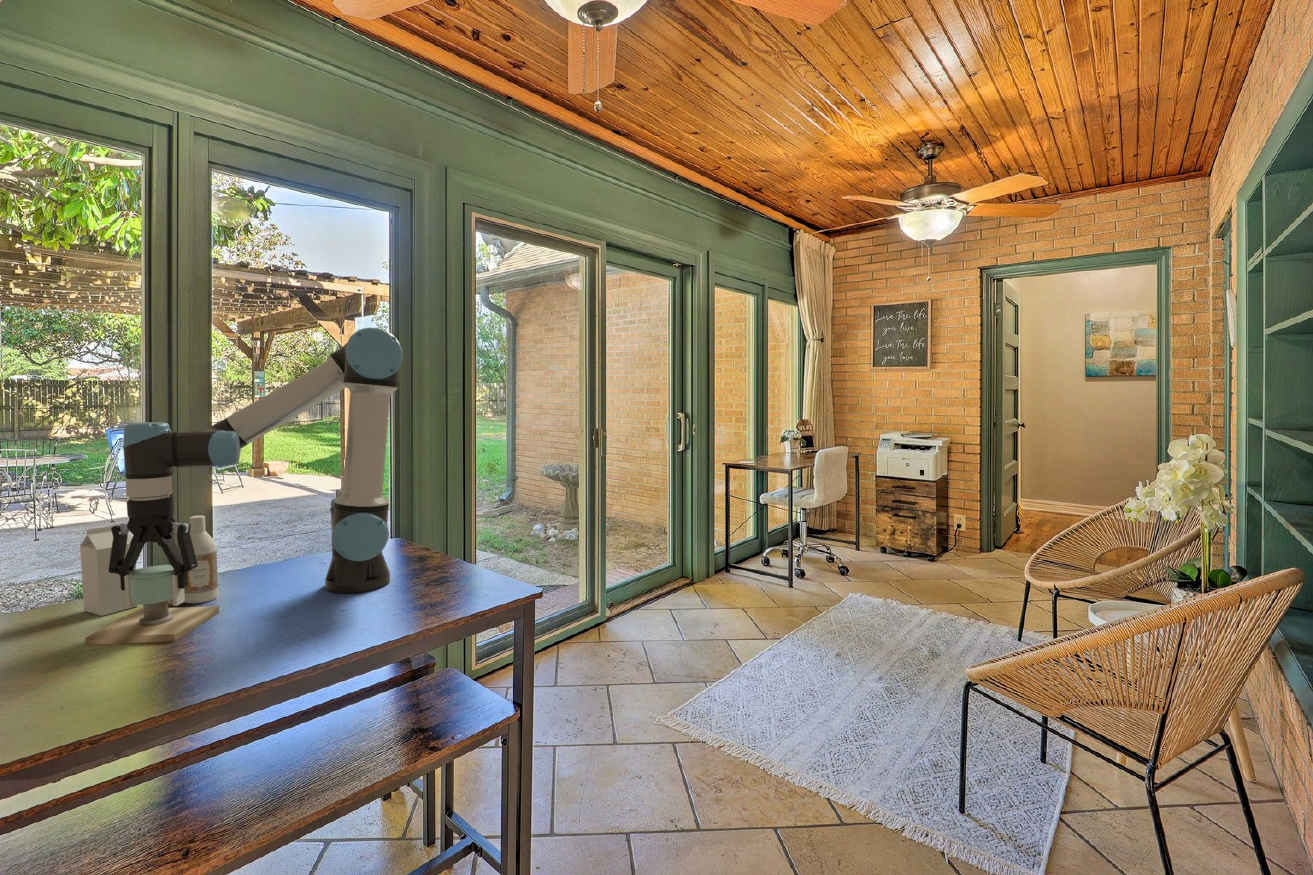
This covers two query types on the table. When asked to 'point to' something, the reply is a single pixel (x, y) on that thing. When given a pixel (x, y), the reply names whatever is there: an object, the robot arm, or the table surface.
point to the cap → (151, 584)
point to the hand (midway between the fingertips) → (155, 604)
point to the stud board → (153, 624)
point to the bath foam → (202, 565)
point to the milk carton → (101, 573)
